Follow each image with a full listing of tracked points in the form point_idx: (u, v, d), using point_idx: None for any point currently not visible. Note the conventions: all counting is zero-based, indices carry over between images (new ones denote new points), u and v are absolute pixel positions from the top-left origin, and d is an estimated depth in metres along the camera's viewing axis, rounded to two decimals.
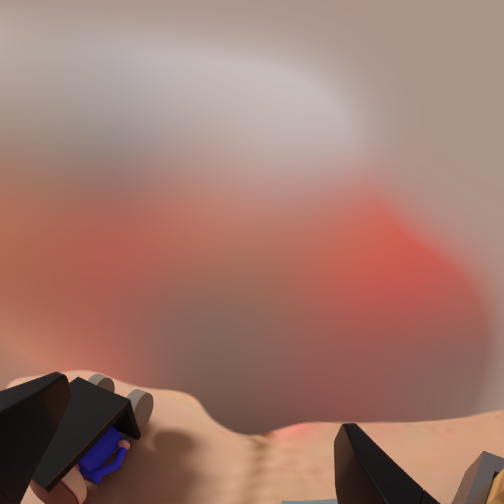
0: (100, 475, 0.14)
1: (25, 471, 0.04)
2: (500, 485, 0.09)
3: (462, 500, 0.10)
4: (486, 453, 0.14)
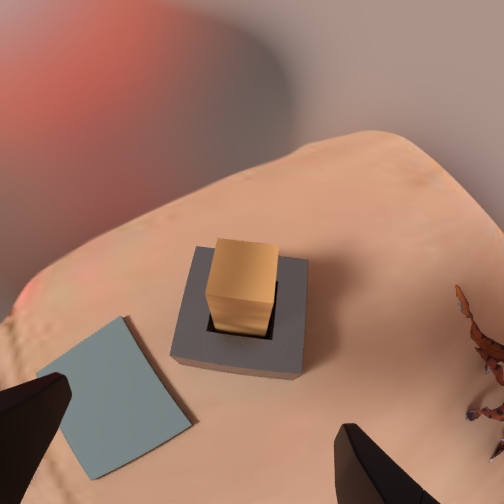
0: None
1: (25, 471, 0.04)
2: None
3: None
4: (201, 249, 0.23)
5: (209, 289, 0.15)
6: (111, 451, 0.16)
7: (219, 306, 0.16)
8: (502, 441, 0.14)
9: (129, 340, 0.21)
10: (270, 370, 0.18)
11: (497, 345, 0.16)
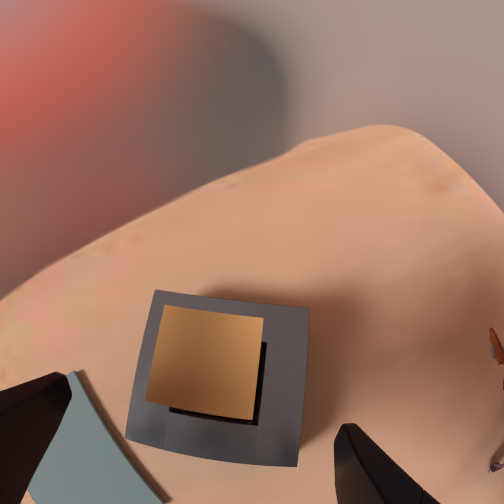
0: None
1: (25, 471, 0.04)
2: None
3: None
4: (162, 294, 0.16)
5: (151, 393, 0.08)
6: None
7: None
8: None
9: (84, 402, 0.15)
10: (255, 463, 0.11)
11: None
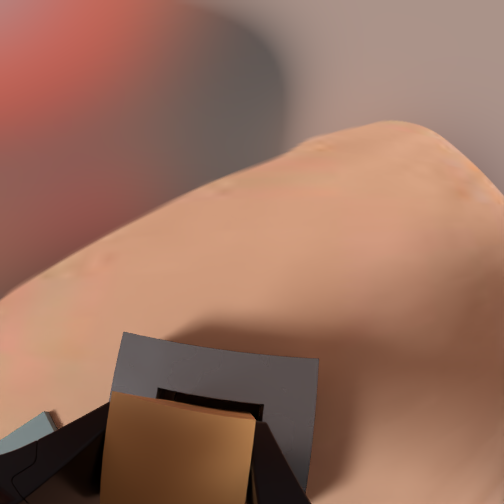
0: None
1: None
2: None
3: None
4: (131, 337, 0.12)
5: (106, 501, 0.04)
6: None
7: None
8: None
9: None
10: None
11: None
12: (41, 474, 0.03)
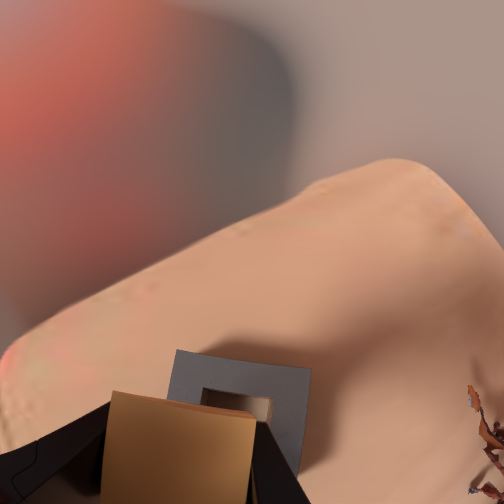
0: None
1: None
2: None
3: None
4: (183, 353, 0.18)
5: (106, 501, 0.04)
6: None
7: None
8: None
9: None
10: None
11: None
12: (41, 474, 0.03)
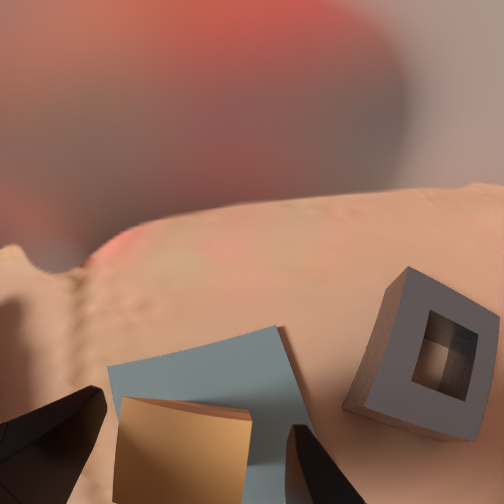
0: None
1: (61, 493, 0.04)
2: None
3: (375, 363, 0.14)
4: (413, 271, 0.16)
5: (118, 496, 0.05)
6: None
7: None
8: None
9: (282, 363, 0.16)
10: (455, 435, 0.10)
11: None
12: (8, 452, 0.03)
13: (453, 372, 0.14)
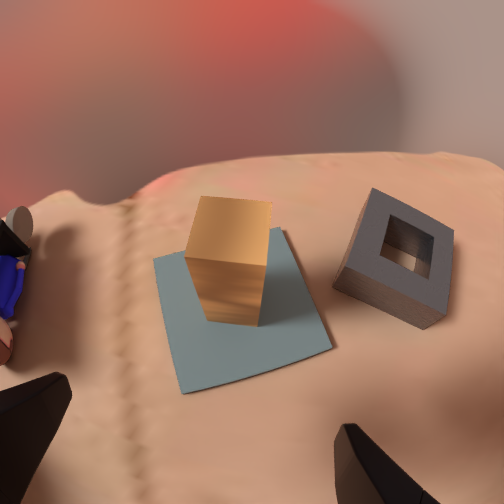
0: (10, 306, 0.17)
1: (25, 471, 0.04)
2: None
3: (351, 244, 0.21)
4: (376, 191, 0.23)
5: (189, 251, 0.12)
6: (228, 362, 0.18)
7: (202, 274, 0.14)
8: None
9: (286, 251, 0.23)
10: (425, 304, 0.18)
11: None
12: None
13: (419, 269, 0.22)
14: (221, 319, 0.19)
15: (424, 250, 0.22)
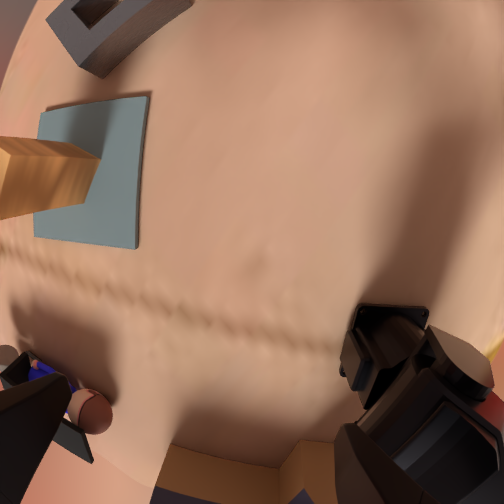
0: None
1: (25, 471, 0.04)
2: None
3: None
4: (49, 16, 0.12)
5: None
6: (119, 196, 0.18)
7: (16, 206, 0.11)
8: None
9: (58, 113, 0.17)
10: None
11: None
12: None
13: None
14: (83, 190, 0.18)
15: None
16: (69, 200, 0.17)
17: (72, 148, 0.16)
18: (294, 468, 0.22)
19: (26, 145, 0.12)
